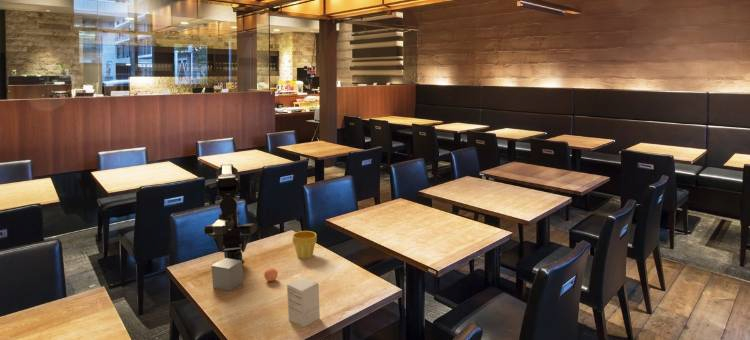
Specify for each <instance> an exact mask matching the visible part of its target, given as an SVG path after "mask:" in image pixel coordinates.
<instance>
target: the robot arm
mask: <svg viewBox="0 0 750 340" xmlns="http://www.w3.org/2000/svg"><path fill="white" fill-rule="evenodd" d="M219 166H220V167H219V168H218V169H217V170H216V181H215V183H216V197H220V199H219V208H220V213H219V214H218V219H217V220H216V221H215V222H214V223H212V224H208V225H206V226H204V228H203V233H204V235H207V236H208V237H210V238H211V239H212V240H213V241H214V243H215V246H216V247H217V249H218V251H219V253H223V254H224V258H229V259H235V260H240V261H242V263H244V262H245V259H243V253H244V252H245V251H246V248H247V245H248V242H249V239H250V238H251V236H252V234H254V233H255V232H258V227H257V225H256V224H255V223H245V224H241V222H239V217H238V215H240V211H238V201H237V195H240V193H241V183H240V180H239V172H238V169H237V168H236V167H234V164H233V163H222V164H220V165H219Z"/></svg>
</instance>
